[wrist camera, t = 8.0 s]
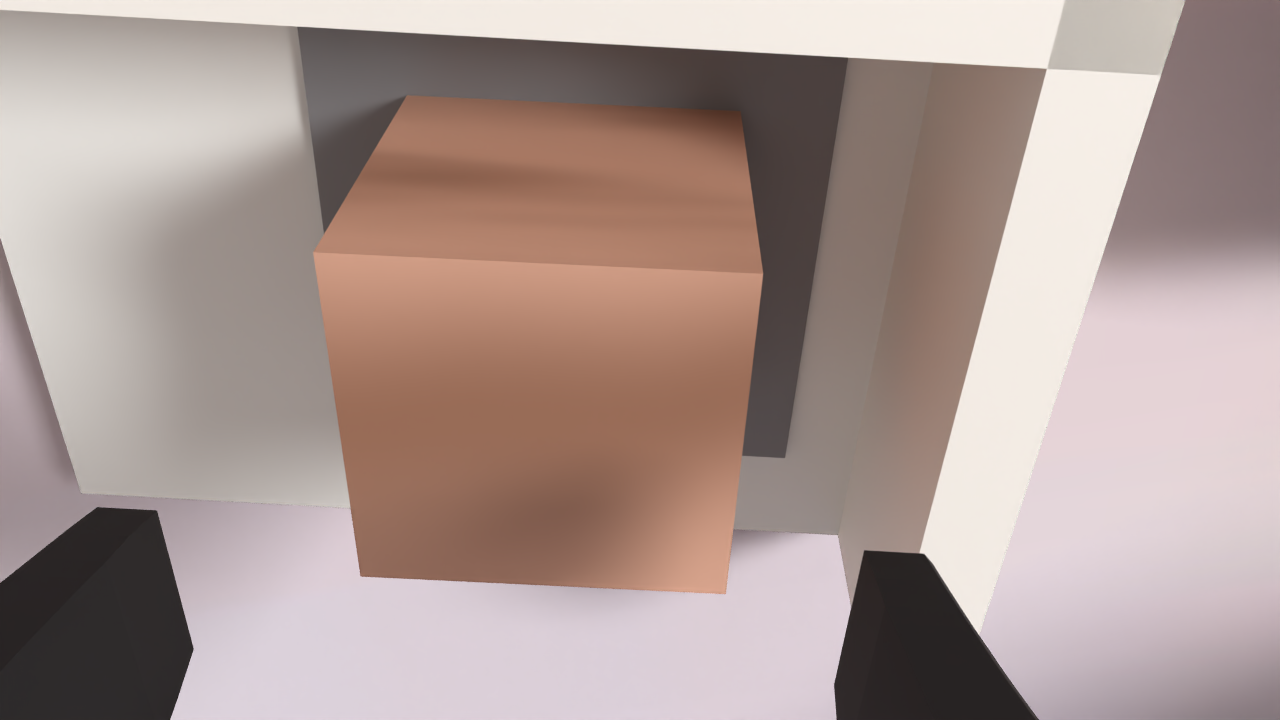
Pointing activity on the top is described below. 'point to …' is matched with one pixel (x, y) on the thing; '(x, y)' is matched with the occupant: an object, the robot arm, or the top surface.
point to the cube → (545, 343)
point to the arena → (607, 75)
